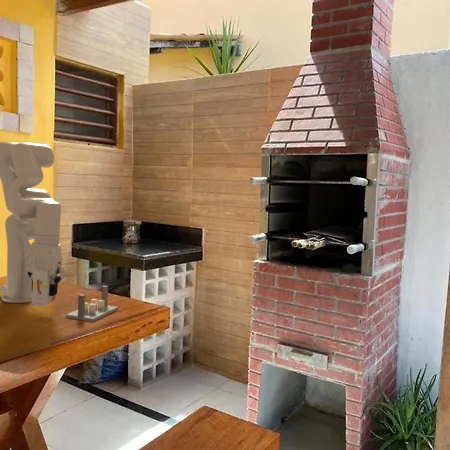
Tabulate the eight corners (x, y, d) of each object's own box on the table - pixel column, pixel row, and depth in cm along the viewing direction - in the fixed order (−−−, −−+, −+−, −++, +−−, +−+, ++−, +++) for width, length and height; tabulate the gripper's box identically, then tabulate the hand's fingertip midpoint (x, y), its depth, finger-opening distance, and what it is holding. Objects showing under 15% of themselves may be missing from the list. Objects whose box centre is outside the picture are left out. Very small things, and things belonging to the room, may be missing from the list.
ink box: (41, 297, 155) (43, 263, 154) (55, 299, 155) (57, 265, 154) (30, 305, 147) (32, 269, 145) (46, 307, 147) (48, 271, 145)
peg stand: (66, 317, 152) (67, 293, 151) (92, 305, 167) (93, 284, 166) (93, 321, 149) (94, 297, 148) (117, 309, 165) (118, 287, 164)
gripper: (16, 237, 147) (13, 291, 149) (63, 244, 143) (59, 301, 145) (32, 234, 154) (29, 286, 157) (77, 241, 150) (73, 295, 152)
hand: (44, 293), depth 151 cm, fingers closed on ink box, 6 cm apart
